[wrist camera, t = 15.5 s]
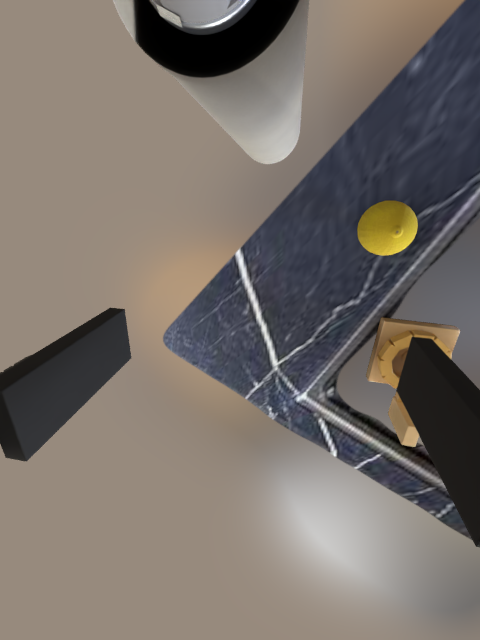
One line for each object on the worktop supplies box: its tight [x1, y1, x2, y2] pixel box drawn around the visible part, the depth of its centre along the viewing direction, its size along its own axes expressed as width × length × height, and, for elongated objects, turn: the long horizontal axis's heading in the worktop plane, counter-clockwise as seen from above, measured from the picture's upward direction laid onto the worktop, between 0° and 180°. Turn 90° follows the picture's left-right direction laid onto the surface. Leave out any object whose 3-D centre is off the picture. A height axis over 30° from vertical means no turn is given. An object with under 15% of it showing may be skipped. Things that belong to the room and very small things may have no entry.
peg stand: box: [366, 317, 460, 384], centre depth 33 cm, size 9×9×16 cm
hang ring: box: [377, 330, 452, 447], centre depth 37 cm, size 13×8×6 cm, turn 177°
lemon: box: [357, 201, 418, 255], centre depth 31 cm, size 6×6×8 cm
